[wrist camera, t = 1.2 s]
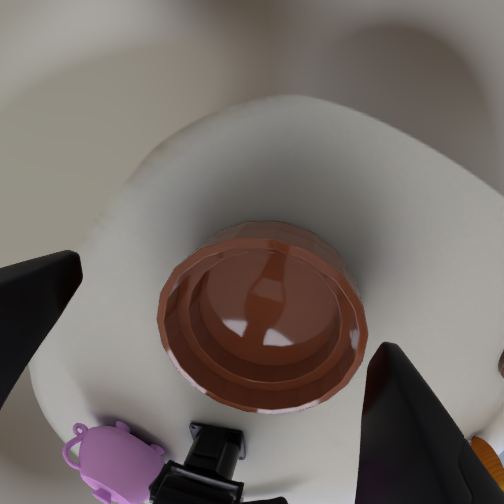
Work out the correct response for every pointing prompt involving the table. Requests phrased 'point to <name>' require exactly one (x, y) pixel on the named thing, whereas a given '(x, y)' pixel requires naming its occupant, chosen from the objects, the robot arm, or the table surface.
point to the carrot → (489, 459)
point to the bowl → (264, 318)
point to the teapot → (115, 463)
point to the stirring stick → (501, 365)
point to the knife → (266, 501)
